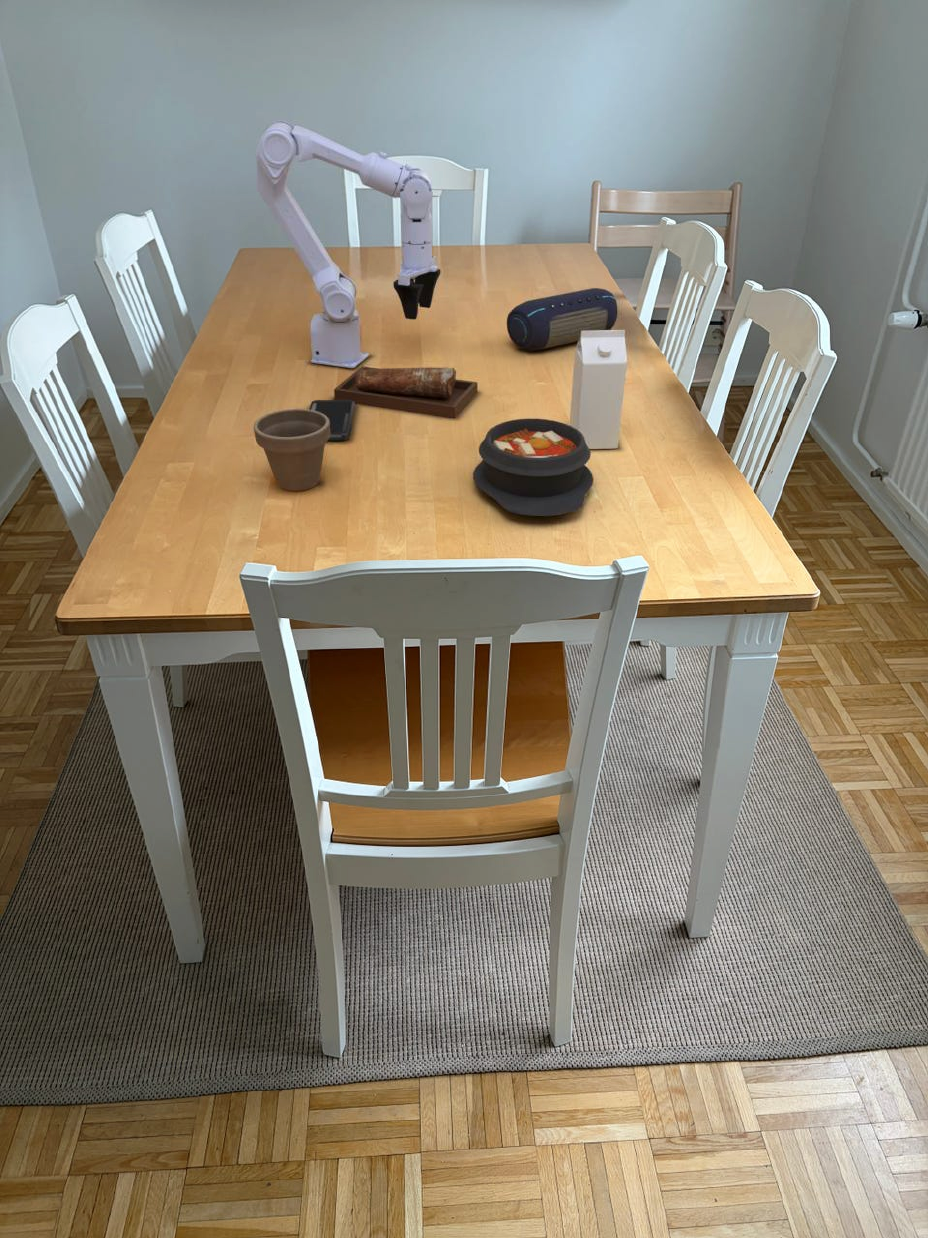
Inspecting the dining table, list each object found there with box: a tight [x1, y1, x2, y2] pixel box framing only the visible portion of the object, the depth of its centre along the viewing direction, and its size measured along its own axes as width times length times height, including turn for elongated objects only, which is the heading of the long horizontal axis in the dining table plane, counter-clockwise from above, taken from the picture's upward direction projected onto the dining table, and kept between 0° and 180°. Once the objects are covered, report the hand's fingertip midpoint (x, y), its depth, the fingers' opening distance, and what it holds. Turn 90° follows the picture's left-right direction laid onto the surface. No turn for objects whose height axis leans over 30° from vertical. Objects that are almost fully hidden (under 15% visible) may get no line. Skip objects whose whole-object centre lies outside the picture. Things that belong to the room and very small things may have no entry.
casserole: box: [472, 418, 594, 517], centre depth 146 cm, size 25×19×8 cm
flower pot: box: [253, 408, 330, 492], centre depth 146 cm, size 12×11×10 cm
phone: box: [308, 399, 356, 442], centre depth 167 cm, size 8×1×15 cm
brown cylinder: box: [356, 366, 457, 398], centre depth 175 cm, size 6×19×6 cm, turn 78°
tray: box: [333, 365, 478, 419], centre depth 177 cm, size 24×13×2 cm, turn 71°
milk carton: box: [568, 329, 628, 450], centre depth 157 cm, size 7×7×19 cm
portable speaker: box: [506, 287, 619, 351], centre depth 199 cm, size 25×10×10 cm, turn 123°
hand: (418, 312), depth 188 cm, fingers open, 7 cm apart
